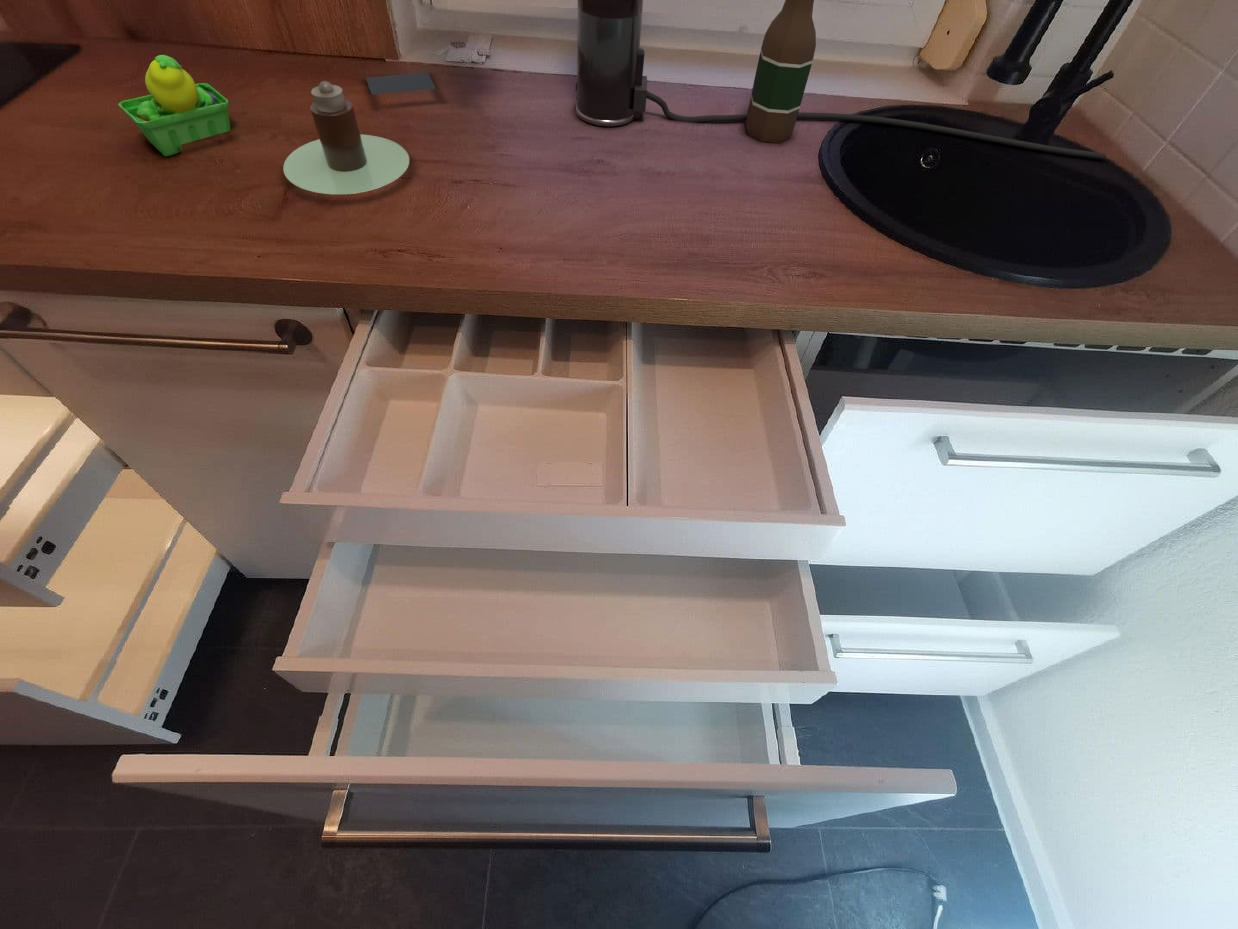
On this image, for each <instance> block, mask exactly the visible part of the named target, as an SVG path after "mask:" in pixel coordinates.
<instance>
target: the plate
mask: <svg viewBox="0 0 1238 929" xmlns="http://www.w3.org/2000/svg"><path fill="white" fill-rule="evenodd" d="M360 136H361V139H362V143H363V147H364V151H365V155H366V158H367V163H366V165H365V166H363V167H362V168H360V169H358V170H354V171H348V172H342V171H336V170H333V169H331V168H330V167H329V166H328V164H327V161H326V158H325V155H324V151H323V148H322V145H321V142H320V139H319V138H318V139H316V140H312V141H310V142H308V143H305V144H303V145H301V146H299V147H298V148H296V149H295V150H293V151H291V153H290V154H289V155H288V156H287V157H286V159H285V161H284V162H283V166H282V167H283V168H282V171H283V175H284V176H285V179H287V180H288V181H289V182H290V183H291V184H293V185H294V186H296V187H298V188H300V189H303V190H305V191H310V192H312V193H316V194H317V193H318V194H324V195H353V194H360V193H365V192H369V191H374V190H377V189H379V188H382V187H385V186H387V185H389V184H391V183H393V182H394V181H396V180H398V179H399V178H400V177H402V176H403V174H405V172H406V171H407V170H408V168H409V165H410V155H409V153H408V151H407V150H406V149H405V148H404V147H403V146H402V145H401V144H399V143H397V142H396V141H393V140H391V139H388V138H386V137H381V136H376V135H372V134H371V135H370V134H362V133H360Z"/></svg>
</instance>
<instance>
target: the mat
mask: <svg viewBox="0 0 1238 929" xmlns="http://www.w3.org/2000/svg"><path fill="white" fill-rule="evenodd" d="M365 81H366V85H367V87H368V89H369V93H370V95H371V96H375V95H386V94H387V95H388V94H399V93H407V92H408V93H409V92H418V91H419V92H420V91H429V90H436V89H437V88H436V86H435V84H434V82H433V80H432V78H431V76H430V74H429V72H419V73H406V74H395V75H381V76H371V77H370V76H369V77H365Z"/></svg>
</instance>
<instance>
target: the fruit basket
mask: <svg viewBox="0 0 1238 929" xmlns="http://www.w3.org/2000/svg"><path fill="white" fill-rule="evenodd" d="M144 84H145V87H146V89H147V91H148V93H149V94H147V95H144V96H139V97H135V98H129V99H125V100H122V101H120V102H119V103H118V107H120V109H121V110H122V111H123V112H124V114H125V115H127V116H128V117H129V118H130V119H131V120H132V122H133V123H134V125H135V126H136V127H137V128H138V129H139V131H140V132H141V133H142V134H143V135H144V137H145V138H146V139H147V140H148V142H150V144H151V145H153V146H154V147H155V149H156V150H158V152H160V153H161V154H162V155H163V157H170V156H173V155H177V154H180V153H182V145H185V144H189V143H192V142H195V141H198V140H203V139H207V138H211V137H213V136H216V135H222V134H225V133H228V132H231V131H232V130H231V121H230V114H229V100H228V99H227V98H226V97H225V96H224V95H223V94H221V93H220V92H219V91H218V90H216V89H215V88H214V87H213V86H212V85H210V84H209V83H207V82H201V83H196V82H195V80H194V79H193V77H192V76H191V75H190V73H189V72H187V71H186V70H185V69H183V68H182V64H180V63H178V61H177V60H176V59H175V58H173V57H172V56H168V55H167V54H159V55H157V56H155V57H154V60H152V61H151V63H150V64H149V67H148V69H147V71H146V73H145V77H144Z"/></svg>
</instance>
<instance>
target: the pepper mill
mask: <svg viewBox="0 0 1238 929" xmlns="http://www.w3.org/2000/svg"><path fill="white" fill-rule="evenodd" d="M310 94H311V96H312V99H313V102H312V103H311V104H310V107H309V110H310V113H311V117H312V120H313V123H314V126H315V129H316V133H317V135H318V139H320V142H321V145H322V148H323V151H324V155H325V158H326V161H327V164H328V166H329V167H330V168H331V169H333V170H336V171H342V172H348V171H354V170H358V169H360V168H362V167H363V166H365V165H366V163H367V158H366V155H365V151H364V147H363V143H362V139H361V136H360V134H361V133H360V129H359V124H358V121H357V117H356V113H355V110H354V106H353V103H352V102H351V101H349V100H348V99H345V98H346V97H345V94H344V91H343V88H342V87H341V86H339V85H336V84H331V83H330V82H329V81H327V80H323V81H321V82H320V83H319V84H318V85H317V86H315V87H313V88H312V89H311V91H310Z"/></svg>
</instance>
